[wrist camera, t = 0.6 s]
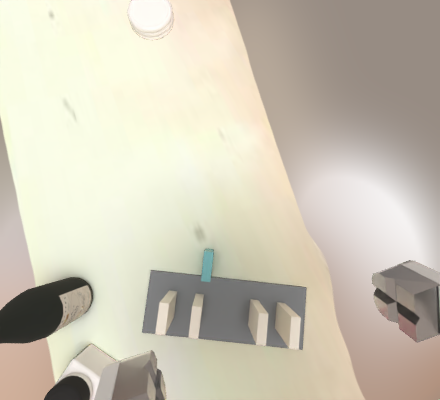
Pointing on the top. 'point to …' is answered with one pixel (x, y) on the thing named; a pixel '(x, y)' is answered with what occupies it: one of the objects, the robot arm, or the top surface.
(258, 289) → the slate mat
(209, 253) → the teal domino
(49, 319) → the wine bottle
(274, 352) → the top surface
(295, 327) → the ivory domino
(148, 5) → the coaster
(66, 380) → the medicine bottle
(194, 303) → the ivory domino
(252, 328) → the ivory domino
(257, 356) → the top surface
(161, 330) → the ivory domino
